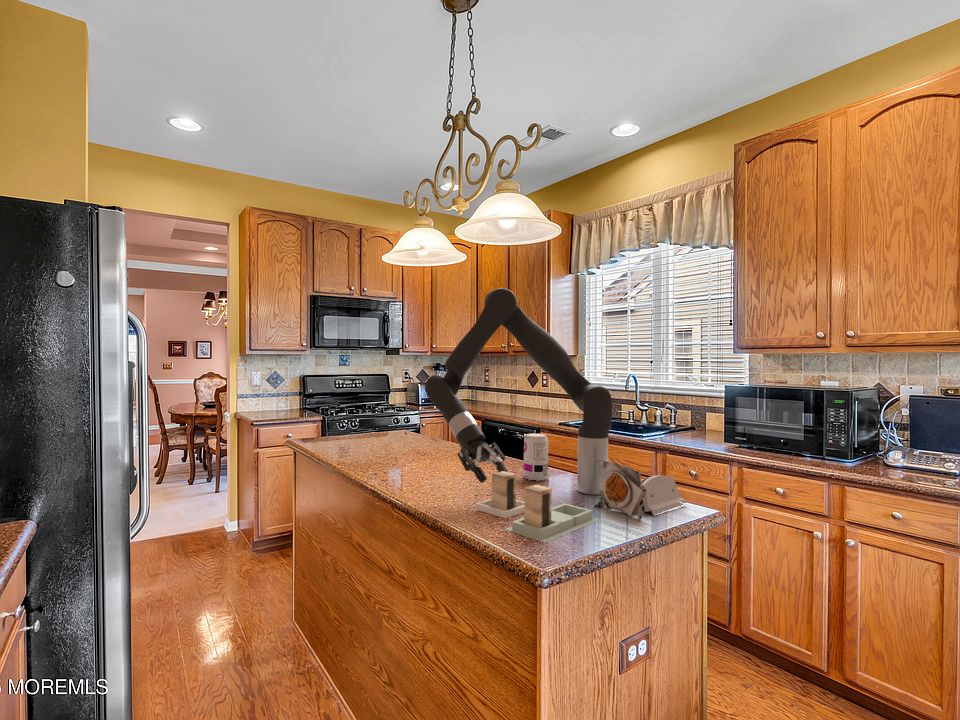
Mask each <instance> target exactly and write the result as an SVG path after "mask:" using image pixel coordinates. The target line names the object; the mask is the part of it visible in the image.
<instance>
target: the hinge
mask: <svg viewBox="0 0 960 720" xmlns="http://www.w3.org/2000/svg"><path fill="white" fill-rule="evenodd" d="M641 482H642V484H643V485H644V487H645V488H646V494H645V498H644V502H645V503H644V505H643V506H642V511H643V510H644V513H646V512H651V514H652V516H653V515H655V514H658V513H661V512H663V511H666V510H669V509H672V508H675V507H678V506H681V505H683V504H682V503H686V504H687V502H686V500H685V498H683V497H681V495H680V491H679V489H678V486H677V484H676V480H675V479H674V477H671V476H668V475H661V474H660V475H659V474H658V475H651V476H648V477H645V478H643V479H642V480H641ZM641 489H642V488H641ZM642 490H643V489H642ZM644 493H645V492H643V493H642V495H644ZM678 501H679V502H678ZM680 502H682V503H680ZM642 504H643V500H641V502H640V505H642Z"/></svg>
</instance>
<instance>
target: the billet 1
mask: <svg viewBox="0 0 960 720" xmlns="http://www.w3.org/2000/svg"><path fill="white" fill-rule="evenodd" d="M491 476H492V477H491V488H492V489H491V499H492V507H494V508H497V509H500V510H503V511H507V510H510V509H513V508H516V500H517V497H516V496H517V494H516V493H517V474H516V473H513V472H509V471H508V472H505V471H502V472H492V475H491Z"/></svg>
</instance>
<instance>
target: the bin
mask: <svg viewBox="0 0 960 720" xmlns="http://www.w3.org/2000/svg"><path fill="white" fill-rule="evenodd" d="M524 502H525V501H523V500H518V499H516V508H513V509H510V510H507V511H503V510H500V509H497V508H494V507H492V498H489V499H487V500H486V499H485V500H483V501H479V502H476V503H475V512H483V513H487V514H489V515H493V516H495V517H500V518H503V519H508V518H512V517H513V516H514V517H515V516H517V515H520V514H524Z"/></svg>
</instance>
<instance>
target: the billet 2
mask: <svg viewBox="0 0 960 720" xmlns="http://www.w3.org/2000/svg"><path fill="white" fill-rule="evenodd" d="M552 491H553V489H552V487H549V486H543V485H539V484H534V485H530V486H527V487H524V501H523V502H524V513H523V518H524V524H527V525H530V526H534V527H537V528H543V527H546V526H548V525H551V508H552V495H553V494H552V493H553V492H552Z"/></svg>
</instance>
